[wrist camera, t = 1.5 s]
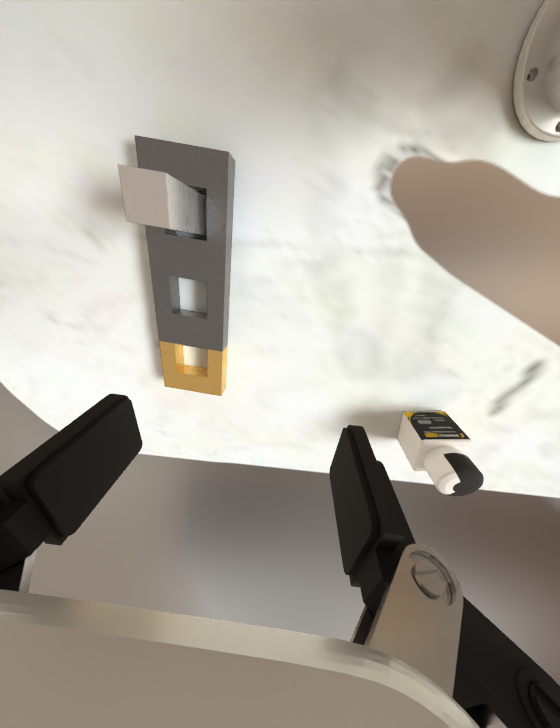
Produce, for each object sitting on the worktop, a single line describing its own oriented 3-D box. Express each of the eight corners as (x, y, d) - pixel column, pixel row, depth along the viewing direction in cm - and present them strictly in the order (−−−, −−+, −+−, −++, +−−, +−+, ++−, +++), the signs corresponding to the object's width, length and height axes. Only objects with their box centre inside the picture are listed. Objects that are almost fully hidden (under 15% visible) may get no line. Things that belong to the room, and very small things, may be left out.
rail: (149, 145, 25) (134, 135, 22) (235, 160, 25) (228, 151, 23) (172, 378, 40) (164, 386, 37) (225, 388, 40) (221, 396, 37)
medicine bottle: (444, 410, 38) (501, 470, 28) (435, 439, 42) (482, 503, 31) (402, 410, 39) (441, 469, 28) (396, 439, 42) (429, 501, 32)
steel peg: (177, 193, 27) (117, 164, 18) (209, 199, 27) (165, 172, 18) (179, 231, 28) (126, 221, 20) (209, 236, 28) (169, 228, 20)
